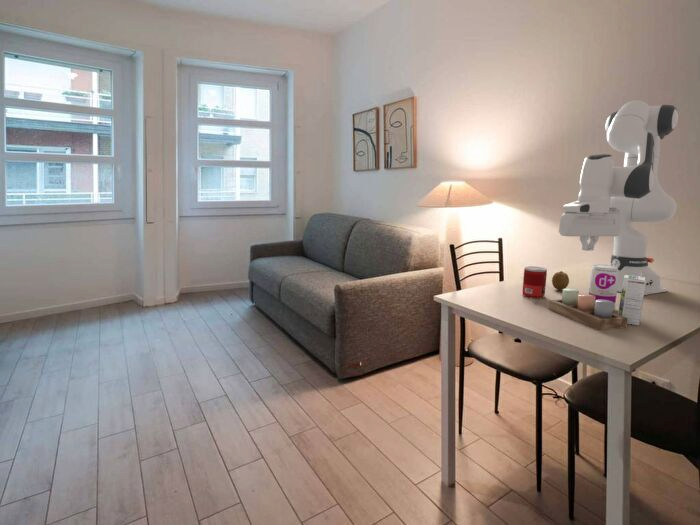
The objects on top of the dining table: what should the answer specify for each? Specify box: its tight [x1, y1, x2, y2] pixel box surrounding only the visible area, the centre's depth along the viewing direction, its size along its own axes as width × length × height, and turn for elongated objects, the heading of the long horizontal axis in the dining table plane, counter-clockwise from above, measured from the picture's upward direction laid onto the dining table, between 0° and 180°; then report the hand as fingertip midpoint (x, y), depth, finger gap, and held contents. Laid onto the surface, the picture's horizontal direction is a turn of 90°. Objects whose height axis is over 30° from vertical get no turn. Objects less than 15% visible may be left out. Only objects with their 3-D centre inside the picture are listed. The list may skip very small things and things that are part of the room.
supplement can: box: [587, 264, 619, 310], centre depth 140 cm, size 8×8×15 cm
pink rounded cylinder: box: [577, 293, 595, 312], centre depth 131 cm, size 5×5×5 cm
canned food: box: [522, 265, 548, 299], centre depth 157 cm, size 8×8×11 cm
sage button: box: [561, 288, 580, 306], centre depth 138 cm, size 5×5×5 cm
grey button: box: [594, 299, 614, 319], centre depth 125 cm, size 5×5×5 cm
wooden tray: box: [547, 298, 628, 331], centre depth 132 cm, size 10×22×3 cm, turn 12°
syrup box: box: [617, 275, 646, 326], centre depth 126 cm, size 6×6×14 cm
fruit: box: [551, 270, 570, 291], centre depth 166 cm, size 6×6×8 cm
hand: (587, 250), depth 130 cm, fingers closed
